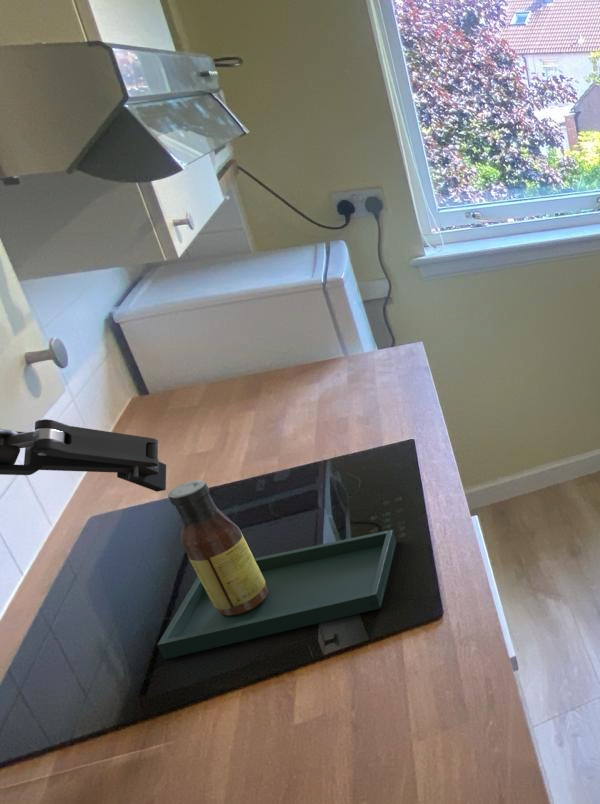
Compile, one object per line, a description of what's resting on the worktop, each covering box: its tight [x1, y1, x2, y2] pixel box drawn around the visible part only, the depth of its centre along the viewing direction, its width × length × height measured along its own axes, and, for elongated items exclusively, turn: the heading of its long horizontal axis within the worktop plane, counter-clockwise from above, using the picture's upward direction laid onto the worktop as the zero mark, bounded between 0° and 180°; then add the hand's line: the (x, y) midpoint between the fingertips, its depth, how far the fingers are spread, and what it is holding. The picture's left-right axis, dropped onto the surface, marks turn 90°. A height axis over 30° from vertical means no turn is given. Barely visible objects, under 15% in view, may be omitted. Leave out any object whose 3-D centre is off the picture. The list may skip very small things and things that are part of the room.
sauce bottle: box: [167, 479, 268, 616], centre depth 100 cm, size 6×6×20 cm
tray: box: [157, 529, 397, 660], centre depth 106 cm, size 26×16×3 cm, turn 109°
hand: (79, 492), depth 73 cm, fingers open, 13 cm apart
